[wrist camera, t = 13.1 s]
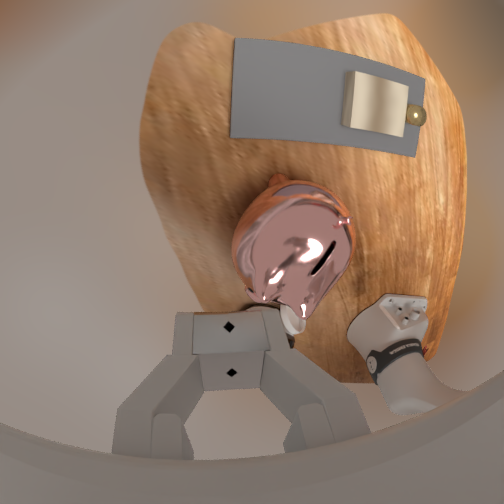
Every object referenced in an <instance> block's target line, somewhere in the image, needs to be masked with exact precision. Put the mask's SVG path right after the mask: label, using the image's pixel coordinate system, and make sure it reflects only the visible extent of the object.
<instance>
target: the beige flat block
mask: <svg viewBox="0 0 504 504" xmlns="http://www.w3.org/2000/svg"><path fill="white" fill-rule="evenodd" d="M408 89H409V86H406V85H403V84H400V83H397V82H394V81H390V80H387V79H384V78H380V77H377V76H373V75H369V74H365V73H361V72H357V71H351V72H346V74H345V88H344V100H343V110H342V120H341V125H344V126H347V127H351V128H357V129H363V130H368V131H374V132H379V133H384V134H389V135H394V136H398V137H403V132H404V125H405V118H406V109H407V100H408Z"/></svg>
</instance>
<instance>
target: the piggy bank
mask: <svg viewBox="0 0 504 504" xmlns="http://www.w3.org/2000/svg"><path fill="white" fill-rule="evenodd" d="M352 219H353V217H351V215H350V213H349V211H348V209H347V207H346V205H345V204H344V203H343V201H342V200H341V199H340V198H339V197H338V196H337V195H336V194H335V193H333V192H332V191H331V190H329V189H328V188H326V187H324V186H322V185H320V184H317V183H314V182H310V181H303V180H289V179H288V178H287V177H286V176H285V175H283V174H280V173H278V174H275V175H273V176H272V177H271V178H270V179H269V182H268V188H267V189H266V190H264V191H263V192H262V193H261V194H260V195H258V196H257V197H256V198H255V199H254V200H253V202H252V203H251V204H250V205H249V206H248V208H247V209H246V210H245V212H244V213H243V215H242V216H241V218H240V220H239V222H238V224H237V226H236V228H235V231H234V234H233V238H232V245H231V254H232V260H233V264H234V267H235V270H236V272H237V274H238V275H239V277H240V279H241V280H242V282H243V283H244V284H245V285H246V286H245V292H246V293H247V295H248V296H249V297H250V298H251V299H252V300H253V301H255V302H257V303H269V302H272V303H276V304H281V305H285V306H289V307H290V308H291V309H292V310H293V311H294V313H295V314H296V315H297V316H298V317H299V318H300V319H302V320H306V319H308V318H309V317H310V316H311V315H312V313H313V312H314V311H315V309H316V308H317V306H318V305H319V303H320V302H321V301H322V299H323V298H324V297H325V296H326V295H327V293H328V292H329V291H330V290H331V289H332V288H333V287H334V285H335V284H336V283H337V282H338V281H339V279H340V278H341V277H342V275H343V274H344V273H345V271H346V269H347V268H348V266H349V264H350V262H351V260H352V258H353V255H354V252H355V246H356V233H355V227H354V223H353V220H352Z"/></svg>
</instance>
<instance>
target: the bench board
mask: <svg viewBox="0 0 504 504" xmlns="http://www.w3.org/2000/svg"><path fill="white" fill-rule="evenodd" d="M351 71H357V72H361V73H365V74H369V75H373V76H377V77H380V78H384V79H387V80H390V81H394V82H397V83H400V84H403V85H406V86H409V89H408V100H407V104H413V105H419V106H421V107H423V100H424V90H425V79H424V78H422V77H419V76H417V75H414V74H412V73H409V72H406V71H403V70H401V69H398V68H395V67H392V66H389V65H386V64H383V63H380V62H376V61H373V60H370V59H366V58H363V57H359V56H355V55H351V54H347V53H343V52H339V51H334V50H330V49H325V48H320V47H314V46H309V45H303V44H296V43H289V42H281V41H272V40H262V39H247V38H235V40H234V57H233V75H232V96H231V119H230V138H254V139H276V140H292V141H304V142H315V143H325V144H334V145H342V146H350V147H357V148H364V149H371V150H377V151H383V152H389V153H394V154H400V155H405V156H410V157H414V158H415V156H416V150H417V144H418V138H419V132H420V126H415V125H411V124H408V123H405V125H404V132H403V137H398V136H394V135H389V134H384V133H379V132H374V131H368V130H363V129H357V128H351V127H347V126H344V125H341V120H342V110H343V100H344V88H345V74H346V72H351Z"/></svg>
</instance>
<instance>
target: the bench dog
mask: <svg viewBox="0 0 504 504" xmlns="http://www.w3.org/2000/svg"><path fill="white" fill-rule="evenodd" d="M425 122H426V111H425V110H424V108H423V107H421V106H419V105H413V104H407V109H406V118H405V123H408V124H411V125H415V126H422V125H424V123H425Z"/></svg>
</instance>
